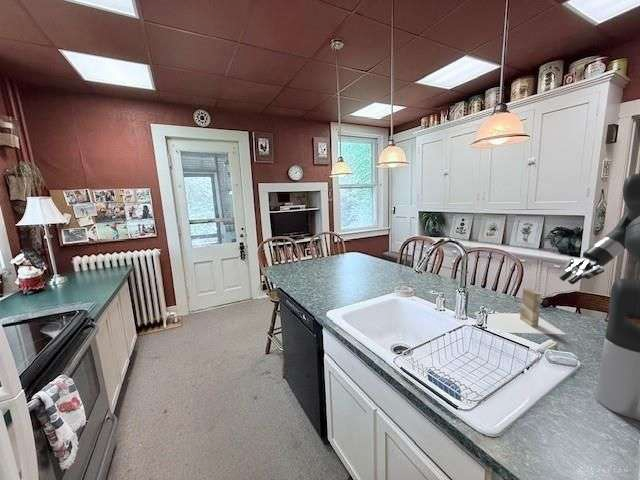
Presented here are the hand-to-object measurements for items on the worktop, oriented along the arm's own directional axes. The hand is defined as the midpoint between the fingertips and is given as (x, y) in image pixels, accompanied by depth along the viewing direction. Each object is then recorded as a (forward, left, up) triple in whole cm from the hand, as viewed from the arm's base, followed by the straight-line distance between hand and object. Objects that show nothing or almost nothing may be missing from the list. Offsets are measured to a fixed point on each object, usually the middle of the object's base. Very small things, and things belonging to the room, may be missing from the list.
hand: (565, 280), depth 107 cm
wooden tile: (+6, +11, -18) cm, 22 cm away
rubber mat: (+9, +15, -19) cm, 26 cm away
